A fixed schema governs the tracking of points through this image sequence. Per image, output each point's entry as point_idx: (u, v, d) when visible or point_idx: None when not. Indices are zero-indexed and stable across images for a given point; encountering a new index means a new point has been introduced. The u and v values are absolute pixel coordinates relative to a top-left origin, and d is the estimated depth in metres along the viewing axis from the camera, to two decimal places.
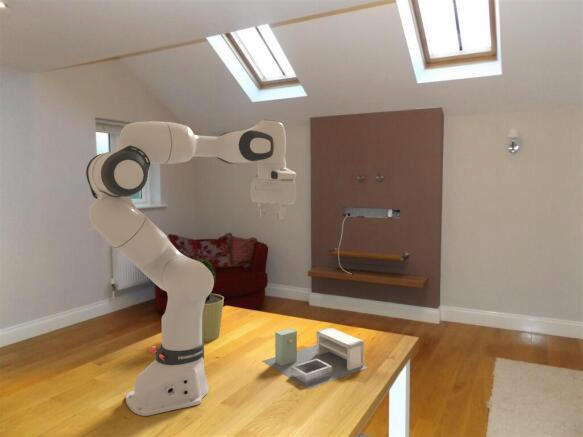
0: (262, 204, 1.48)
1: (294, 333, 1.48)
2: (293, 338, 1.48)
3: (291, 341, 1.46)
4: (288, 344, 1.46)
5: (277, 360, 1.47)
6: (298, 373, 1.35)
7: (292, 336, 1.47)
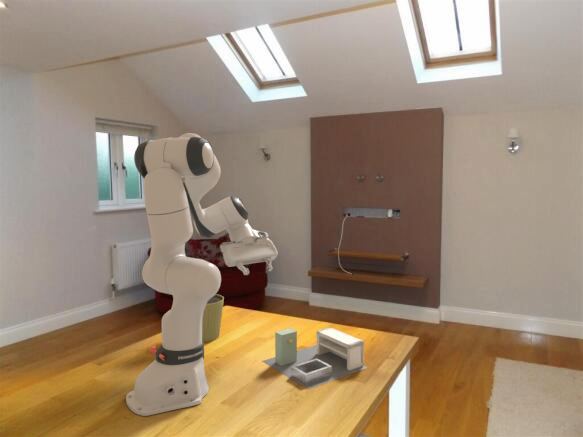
0: None
1: (294, 333, 1.48)
2: (293, 338, 1.48)
3: (291, 341, 1.46)
4: (288, 344, 1.46)
5: (277, 360, 1.47)
6: (298, 373, 1.35)
7: (292, 336, 1.47)
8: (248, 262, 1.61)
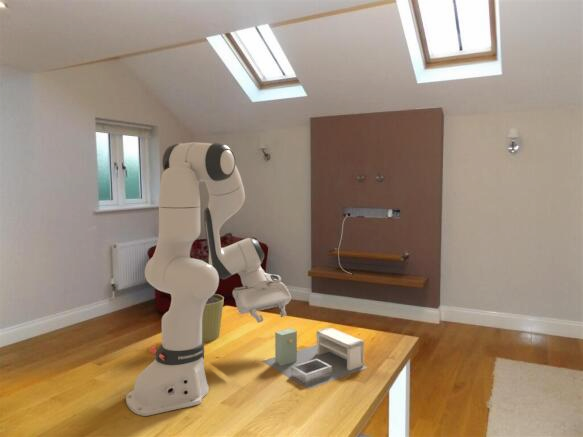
0: None
1: (294, 333, 1.48)
2: (293, 338, 1.48)
3: (291, 341, 1.46)
4: (288, 344, 1.46)
5: (277, 360, 1.47)
6: (298, 373, 1.35)
7: (292, 336, 1.47)
8: (261, 308, 1.56)
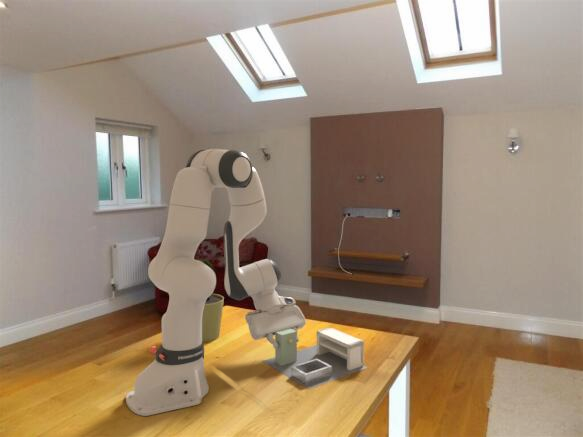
0: None
1: (294, 333, 1.48)
2: (293, 338, 1.48)
3: (291, 341, 1.46)
4: (288, 344, 1.46)
5: (277, 360, 1.47)
6: (298, 373, 1.35)
7: (292, 336, 1.47)
8: None
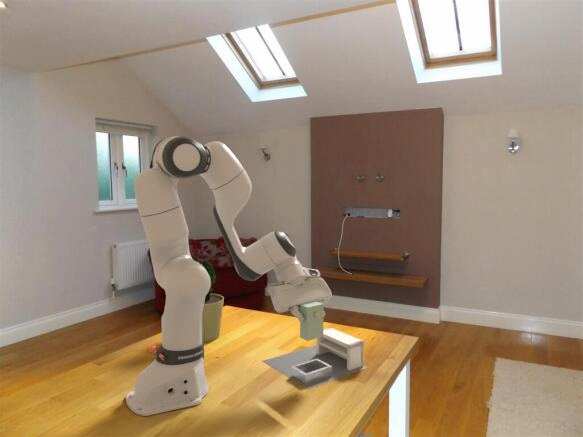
0: None
1: (321, 306, 1.36)
2: (320, 311, 1.36)
3: (318, 314, 1.34)
4: (314, 318, 1.35)
5: (302, 335, 1.36)
6: (298, 373, 1.35)
7: (319, 308, 1.36)
8: None
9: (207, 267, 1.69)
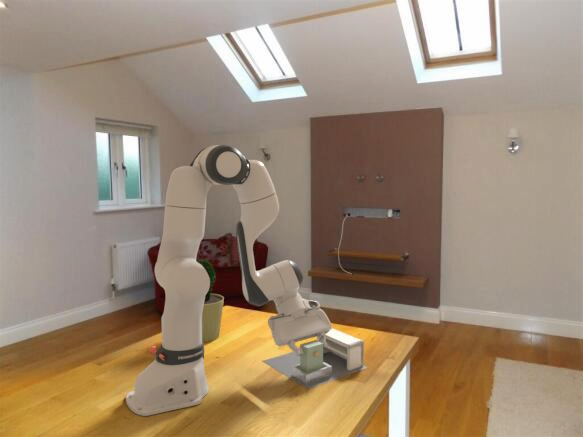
0: None
1: (320, 345, 1.37)
2: (319, 351, 1.37)
3: (317, 354, 1.35)
4: (314, 357, 1.36)
5: None
6: (298, 373, 1.35)
7: (318, 348, 1.37)
8: (299, 339, 1.39)
9: (207, 267, 1.69)
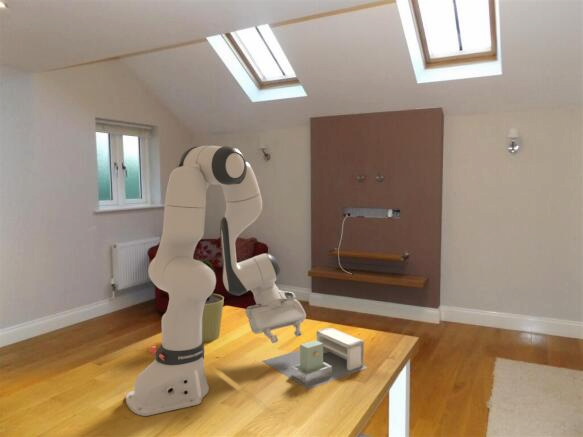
0: None
1: (320, 345, 1.37)
2: (319, 351, 1.37)
3: (317, 354, 1.35)
4: (314, 357, 1.36)
5: None
6: (298, 373, 1.35)
7: (318, 348, 1.37)
8: (275, 327, 1.50)
9: None
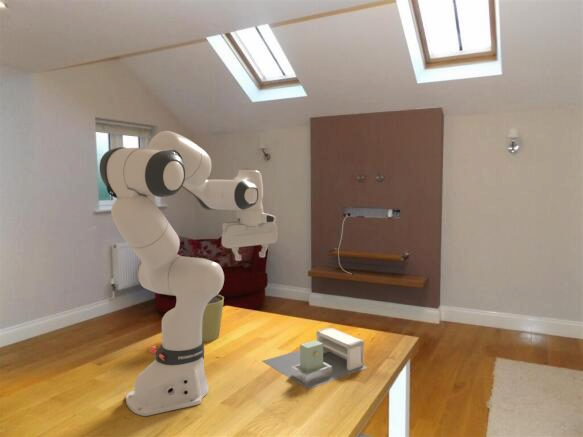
0: None
1: (320, 345, 1.37)
2: (319, 351, 1.37)
3: (317, 354, 1.35)
4: (314, 357, 1.36)
5: None
6: (298, 373, 1.35)
7: (318, 348, 1.37)
8: None
9: None
